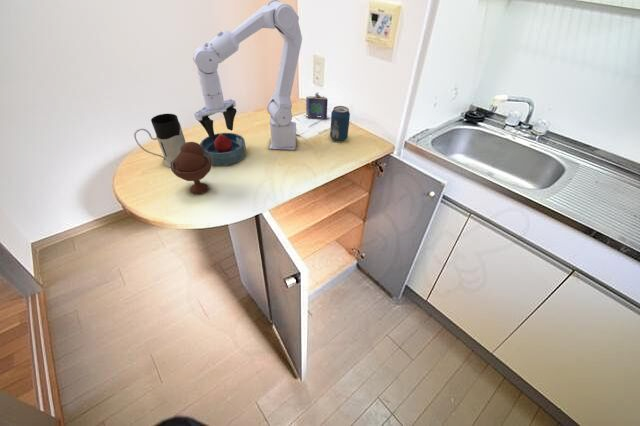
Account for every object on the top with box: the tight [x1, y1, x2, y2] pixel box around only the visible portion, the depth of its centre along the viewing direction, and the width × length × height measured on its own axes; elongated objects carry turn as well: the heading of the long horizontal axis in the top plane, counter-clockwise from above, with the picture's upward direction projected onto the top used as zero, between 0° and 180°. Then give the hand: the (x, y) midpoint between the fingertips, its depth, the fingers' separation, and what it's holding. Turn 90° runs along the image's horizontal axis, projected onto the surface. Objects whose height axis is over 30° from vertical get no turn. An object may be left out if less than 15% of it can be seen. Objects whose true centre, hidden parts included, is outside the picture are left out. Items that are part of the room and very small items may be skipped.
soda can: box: [329, 105, 351, 143], centre depth 111 cm, size 7×7×12 cm
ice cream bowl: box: [170, 141, 212, 196], centre depth 83 cm, size 11×11×15 cm
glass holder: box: [133, 113, 187, 168], centre depth 94 cm, size 9×14×15 cm, turn 131°
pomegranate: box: [214, 132, 232, 153], centre depth 100 cm, size 6×6×8 cm
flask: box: [305, 92, 329, 120], centre depth 126 cm, size 9×3×11 cm, turn 84°
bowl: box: [199, 132, 248, 167], centre depth 102 cm, size 15×15×5 cm
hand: (221, 133), depth 98 cm, fingers open, 7 cm apart
